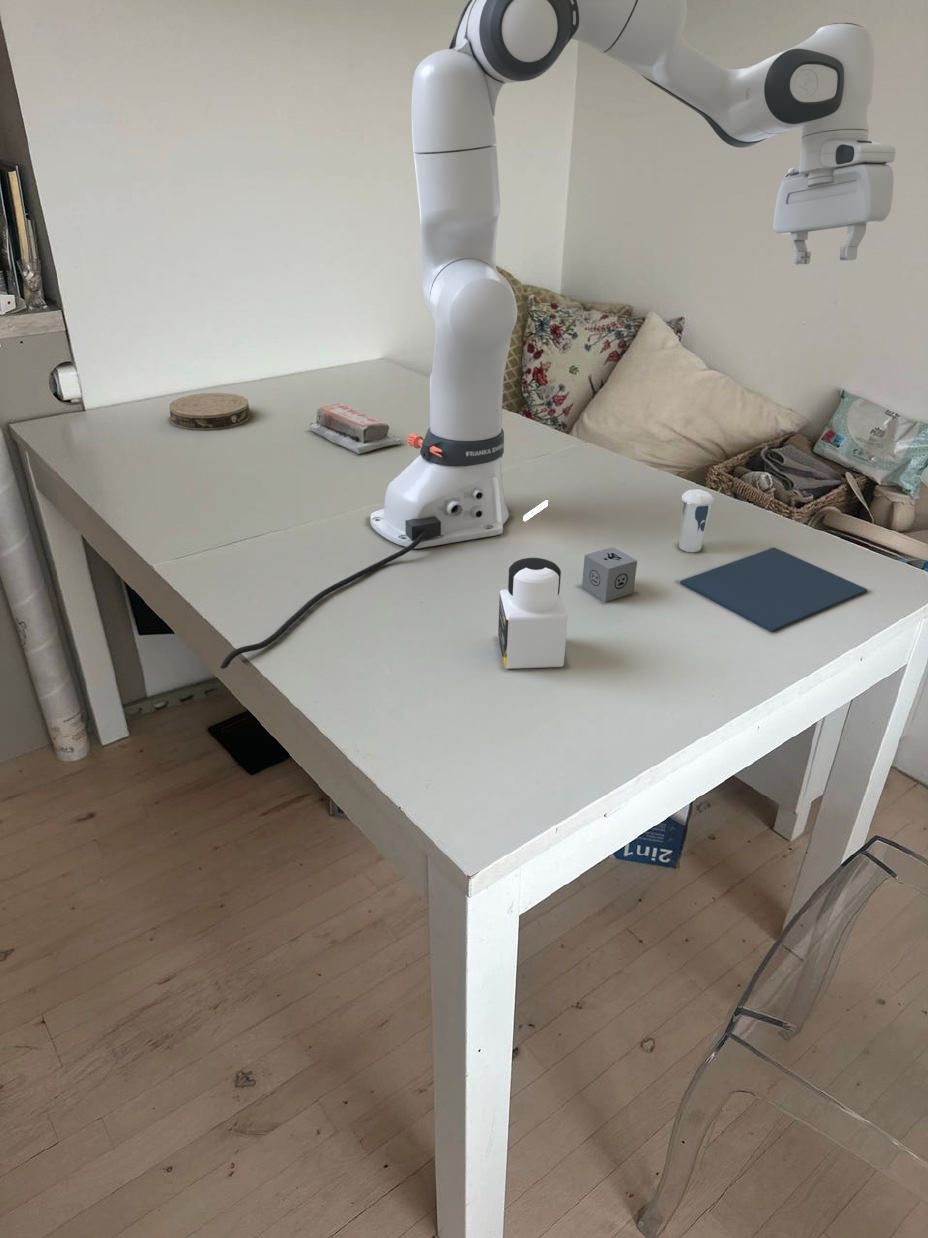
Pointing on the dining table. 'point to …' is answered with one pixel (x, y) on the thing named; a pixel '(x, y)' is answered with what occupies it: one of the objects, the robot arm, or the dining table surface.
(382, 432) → the packaged product
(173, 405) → the round wood slice
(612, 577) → the dice cube
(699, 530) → the milkshake
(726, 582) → the mat
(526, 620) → the medicine bottle
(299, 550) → the dining table surface
